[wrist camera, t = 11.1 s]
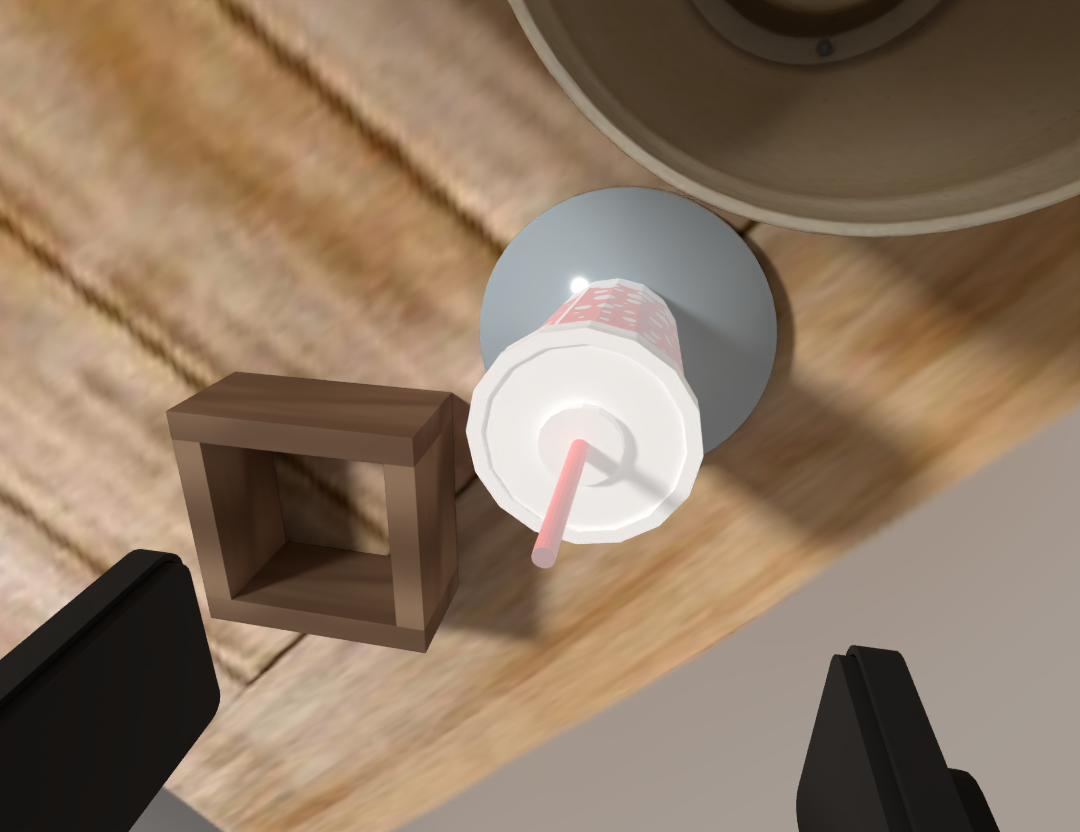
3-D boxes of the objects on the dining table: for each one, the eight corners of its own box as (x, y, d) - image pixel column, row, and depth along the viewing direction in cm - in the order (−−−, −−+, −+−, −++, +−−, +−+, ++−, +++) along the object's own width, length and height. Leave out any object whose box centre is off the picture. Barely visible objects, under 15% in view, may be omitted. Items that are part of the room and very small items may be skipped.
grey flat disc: (483, 179, 25) (476, 181, 24) (798, 192, 23) (802, 195, 22) (486, 449, 30) (481, 458, 29) (751, 478, 28) (753, 488, 27)
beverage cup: (567, 432, 28) (464, 700, 15) (510, 288, 26) (338, 457, 13) (719, 390, 26) (749, 658, 13) (670, 232, 24) (648, 366, 11)
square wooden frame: (235, 371, 30) (165, 411, 26) (451, 392, 29) (412, 438, 25) (267, 558, 35) (211, 617, 30) (458, 586, 33) (425, 653, 29)
